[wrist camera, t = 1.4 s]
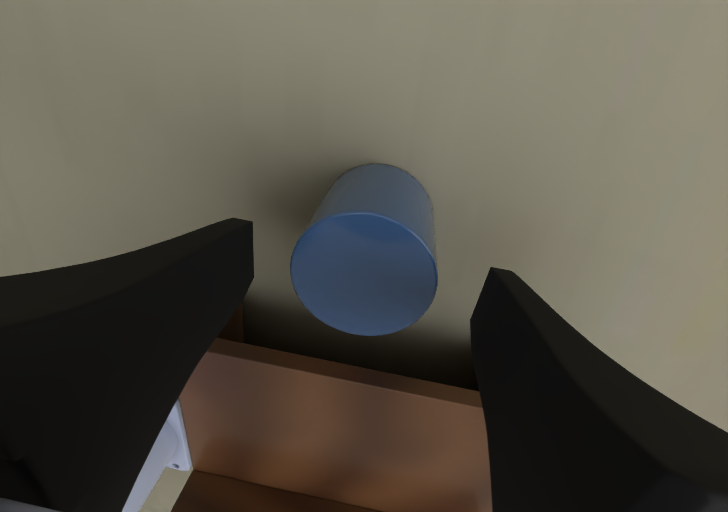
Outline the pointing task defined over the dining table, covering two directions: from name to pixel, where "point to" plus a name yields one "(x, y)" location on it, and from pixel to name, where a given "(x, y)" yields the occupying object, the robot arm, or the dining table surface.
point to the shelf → (326, 436)
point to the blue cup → (368, 253)
